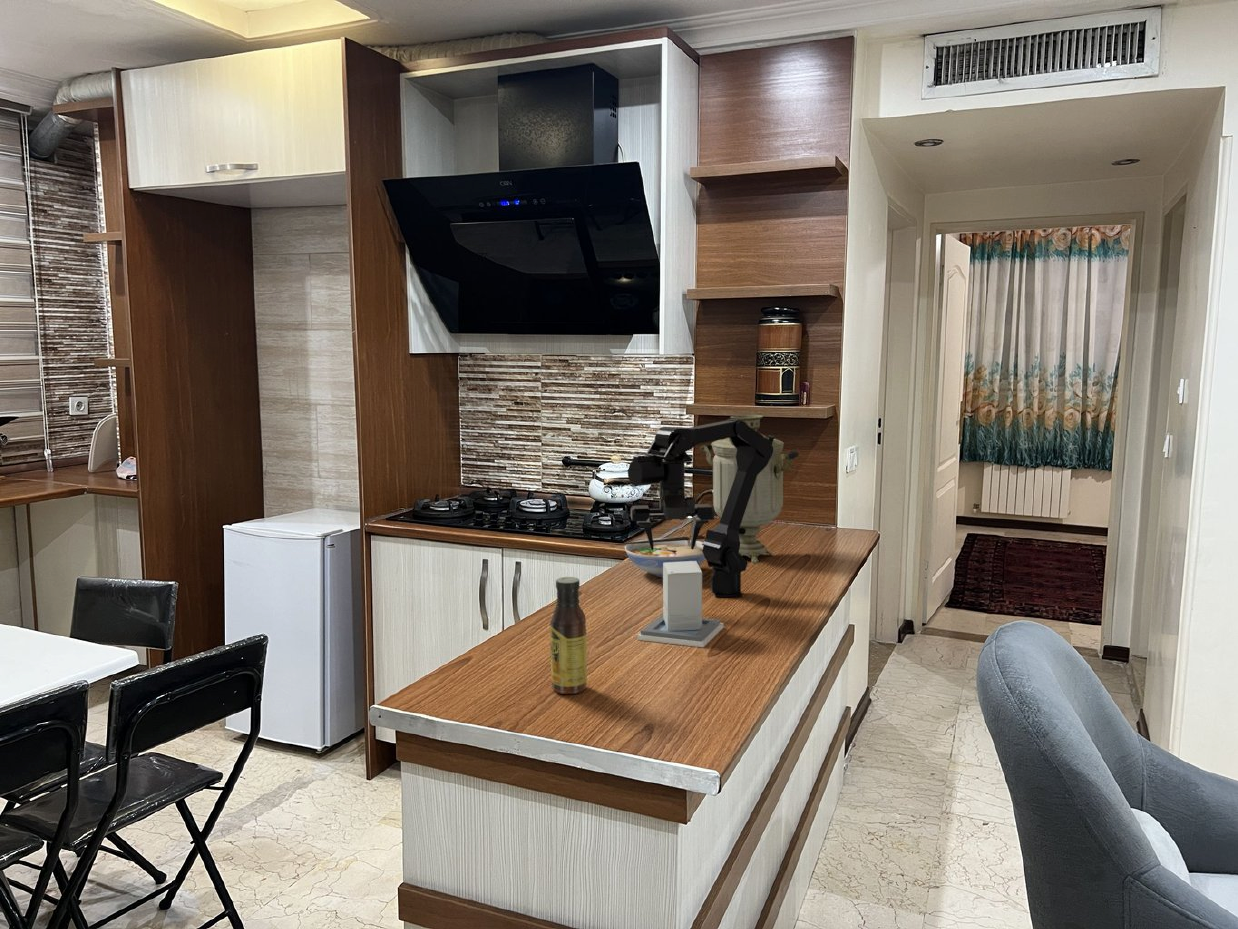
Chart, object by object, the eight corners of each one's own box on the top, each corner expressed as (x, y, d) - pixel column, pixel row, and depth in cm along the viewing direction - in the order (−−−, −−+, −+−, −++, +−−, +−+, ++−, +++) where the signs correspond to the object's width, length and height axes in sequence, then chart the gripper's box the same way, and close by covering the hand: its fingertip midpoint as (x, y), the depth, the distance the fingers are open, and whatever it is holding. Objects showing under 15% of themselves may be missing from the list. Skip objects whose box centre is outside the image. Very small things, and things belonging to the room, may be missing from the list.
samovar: (826, 558, 259) (828, 415, 254) (756, 572, 244) (757, 420, 239) (753, 541, 283) (754, 410, 278) (686, 553, 269) (685, 415, 264)
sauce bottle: (551, 683, 165) (548, 574, 162) (586, 682, 165) (584, 573, 163) (551, 697, 158) (549, 583, 156) (588, 696, 159) (586, 582, 156)
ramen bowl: (634, 589, 229) (634, 556, 228) (610, 568, 251) (610, 538, 250) (728, 581, 236) (728, 549, 235) (697, 561, 258) (697, 532, 257)
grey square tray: (661, 621, 202) (661, 613, 202) (723, 627, 197) (723, 619, 196) (637, 639, 189) (637, 631, 189) (703, 647, 184) (703, 638, 184)
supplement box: (702, 630, 191) (703, 572, 188) (667, 631, 191) (666, 573, 188) (697, 615, 198) (697, 560, 195) (662, 617, 198) (662, 561, 195)
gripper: (633, 488, 203) (634, 558, 205) (718, 486, 204) (718, 556, 206) (630, 481, 214) (630, 547, 216) (710, 479, 215) (710, 545, 217)
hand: (672, 549), depth 213 cm, fingers open, 9 cm apart
